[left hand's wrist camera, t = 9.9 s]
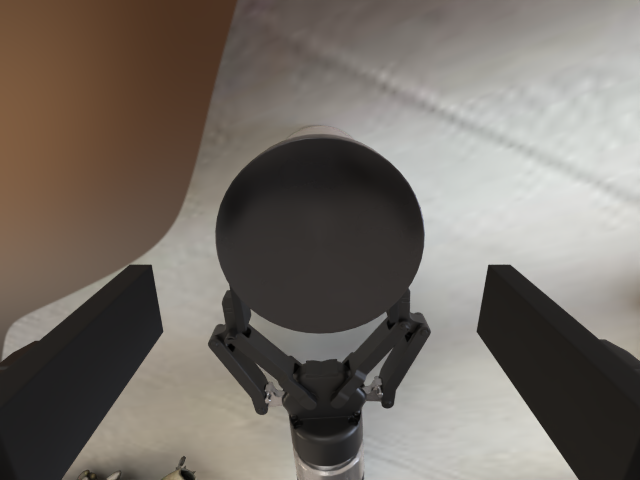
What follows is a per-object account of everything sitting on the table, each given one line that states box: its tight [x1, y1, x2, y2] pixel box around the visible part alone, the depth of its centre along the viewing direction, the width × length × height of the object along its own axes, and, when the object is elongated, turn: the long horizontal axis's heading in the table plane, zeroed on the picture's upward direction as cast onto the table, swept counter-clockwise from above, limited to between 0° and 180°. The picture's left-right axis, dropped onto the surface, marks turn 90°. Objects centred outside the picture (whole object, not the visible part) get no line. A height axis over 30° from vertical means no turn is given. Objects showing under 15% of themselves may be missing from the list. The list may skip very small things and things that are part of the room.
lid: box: [215, 134, 425, 333], centre depth 19 cm, size 10×10×2 cm
